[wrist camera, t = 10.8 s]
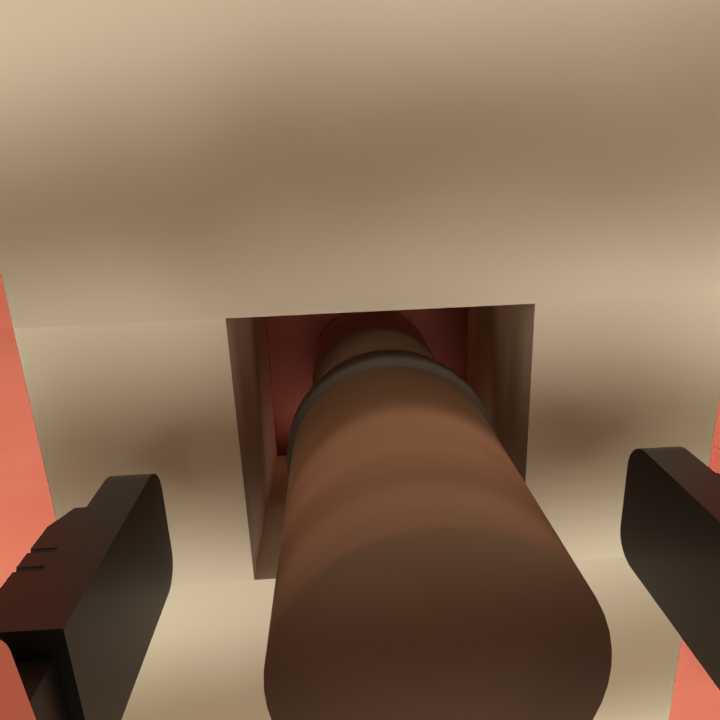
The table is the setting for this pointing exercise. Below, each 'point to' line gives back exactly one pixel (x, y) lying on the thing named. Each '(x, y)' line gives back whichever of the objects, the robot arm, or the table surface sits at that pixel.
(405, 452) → the peg
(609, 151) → the seat board
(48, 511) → the table surface
